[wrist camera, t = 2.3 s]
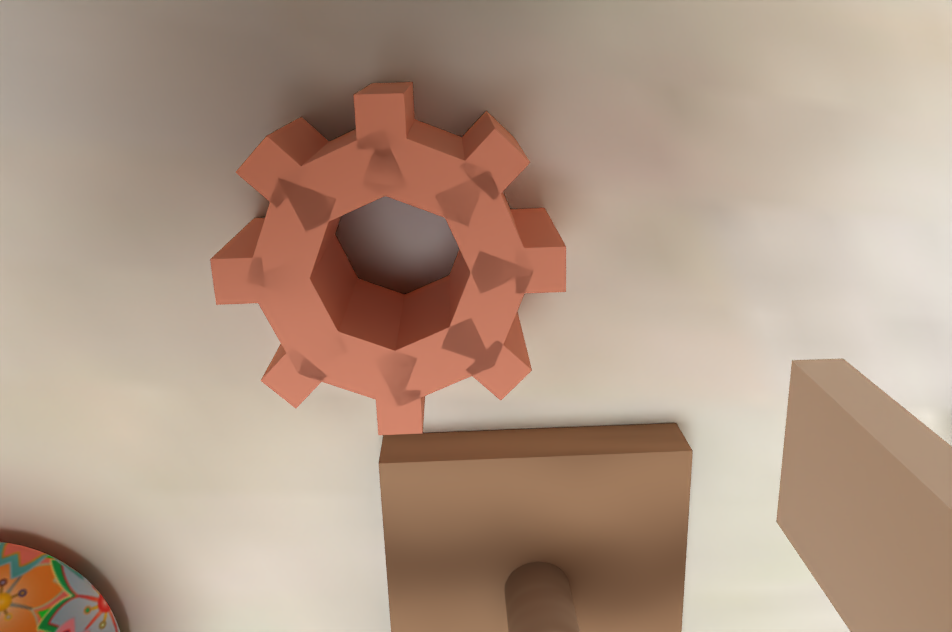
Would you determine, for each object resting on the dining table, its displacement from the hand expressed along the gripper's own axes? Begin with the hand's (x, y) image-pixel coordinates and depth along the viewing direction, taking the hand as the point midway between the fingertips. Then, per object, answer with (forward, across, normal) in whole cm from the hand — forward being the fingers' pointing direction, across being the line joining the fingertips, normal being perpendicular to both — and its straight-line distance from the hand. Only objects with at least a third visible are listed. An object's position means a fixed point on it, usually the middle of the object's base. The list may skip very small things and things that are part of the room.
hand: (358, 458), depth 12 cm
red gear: (+14, 0, 0) cm, 14 cm away
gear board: (+14, +4, -17) cm, 22 cm away
